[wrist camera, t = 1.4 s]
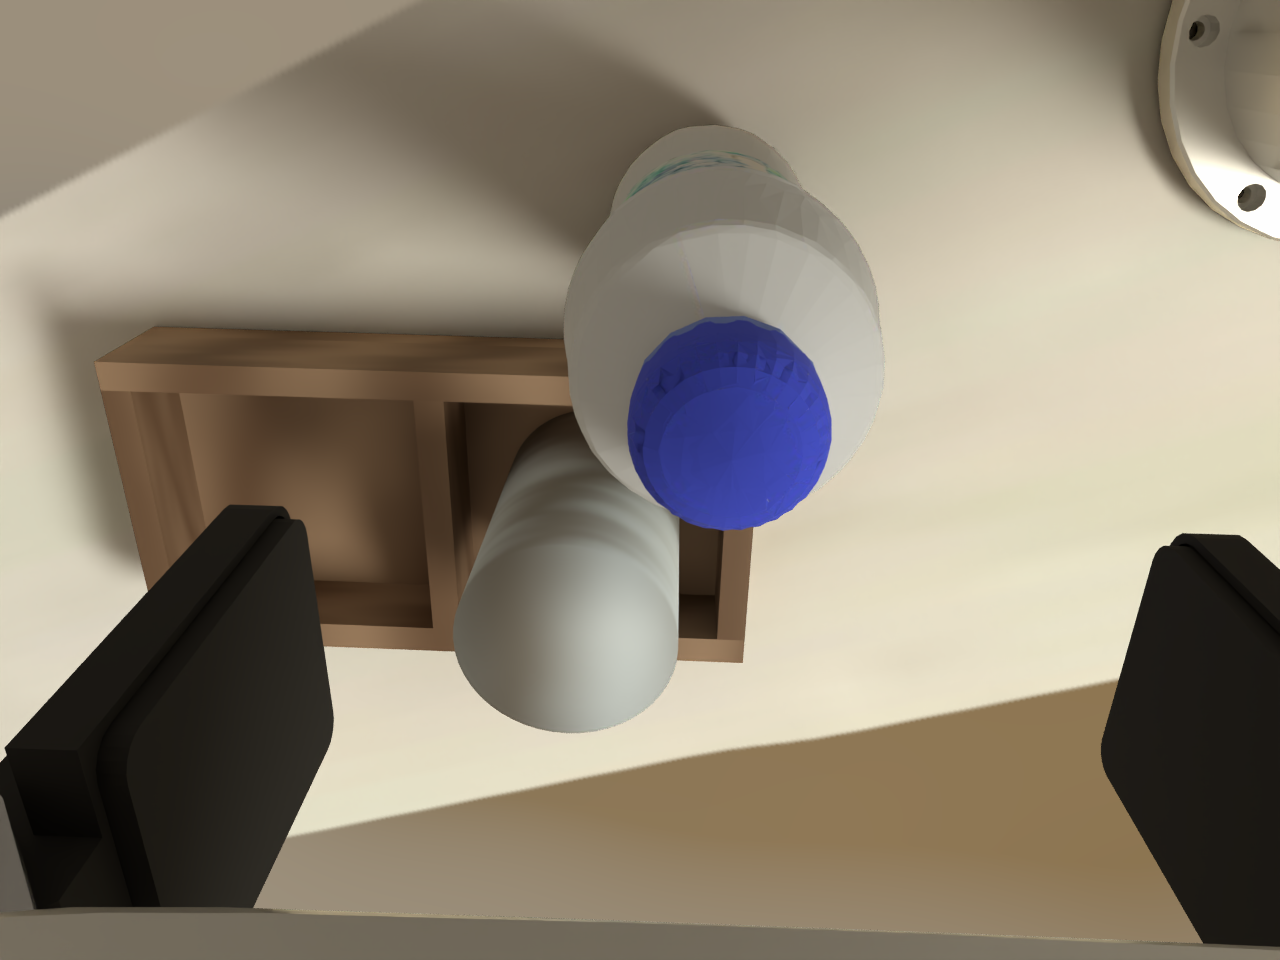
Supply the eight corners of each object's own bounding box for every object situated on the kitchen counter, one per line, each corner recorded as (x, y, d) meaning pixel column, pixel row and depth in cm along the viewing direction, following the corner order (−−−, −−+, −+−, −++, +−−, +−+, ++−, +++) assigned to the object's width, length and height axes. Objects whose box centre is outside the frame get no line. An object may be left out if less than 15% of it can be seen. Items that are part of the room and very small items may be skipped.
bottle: (749, 342, 35) (820, 691, 17) (578, 263, 34) (457, 545, 16) (842, 165, 32) (1045, 355, 14) (658, 74, 31) (623, 154, 13)
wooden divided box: (756, 345, 35) (785, 475, 25) (737, 604, 40) (755, 800, 30) (154, 326, 35) (-52, 447, 26) (206, 583, 40) (50, 769, 30)
